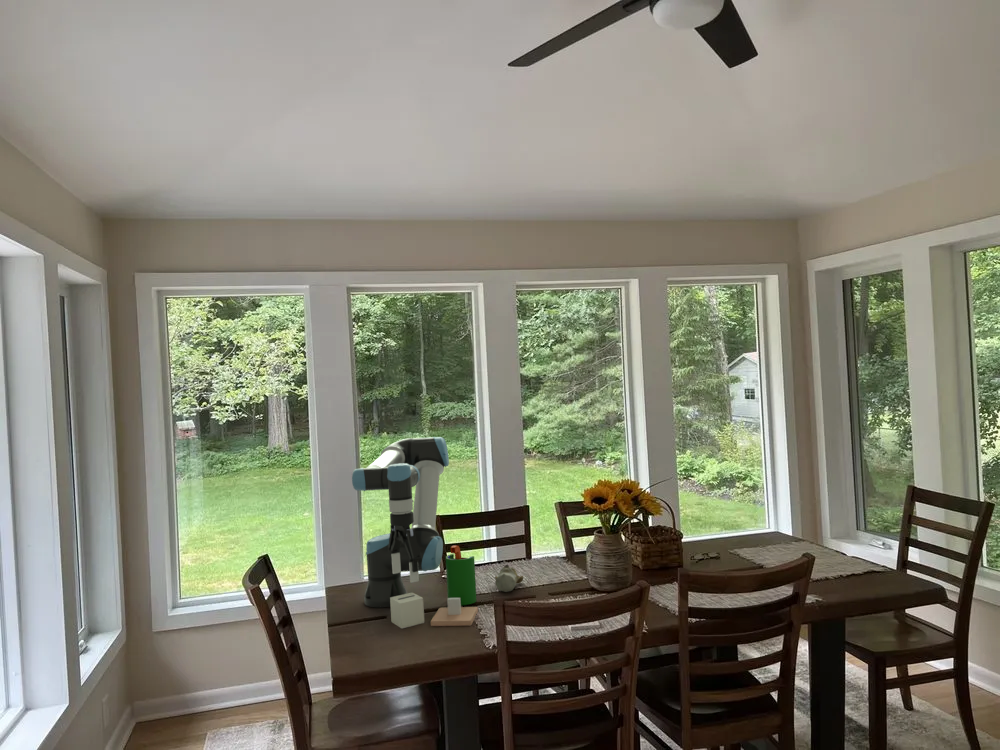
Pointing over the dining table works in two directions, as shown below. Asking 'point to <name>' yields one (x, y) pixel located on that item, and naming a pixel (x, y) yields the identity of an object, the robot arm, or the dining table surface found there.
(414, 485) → the robot arm
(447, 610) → the base
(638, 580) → the dining table surface
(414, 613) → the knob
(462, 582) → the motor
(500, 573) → the ceramic sculpture
